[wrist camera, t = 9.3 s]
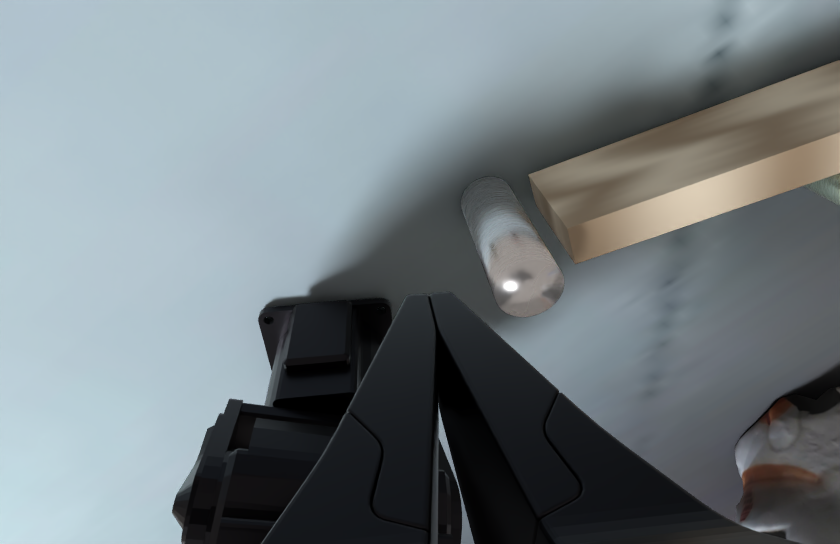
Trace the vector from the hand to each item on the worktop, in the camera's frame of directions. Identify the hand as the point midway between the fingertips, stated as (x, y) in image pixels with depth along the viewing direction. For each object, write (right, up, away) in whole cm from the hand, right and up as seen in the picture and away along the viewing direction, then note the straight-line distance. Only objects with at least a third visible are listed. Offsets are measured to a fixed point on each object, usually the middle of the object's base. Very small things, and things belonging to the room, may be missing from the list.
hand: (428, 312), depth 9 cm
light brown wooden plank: (+13, +7, +12) cm, 19 cm away
